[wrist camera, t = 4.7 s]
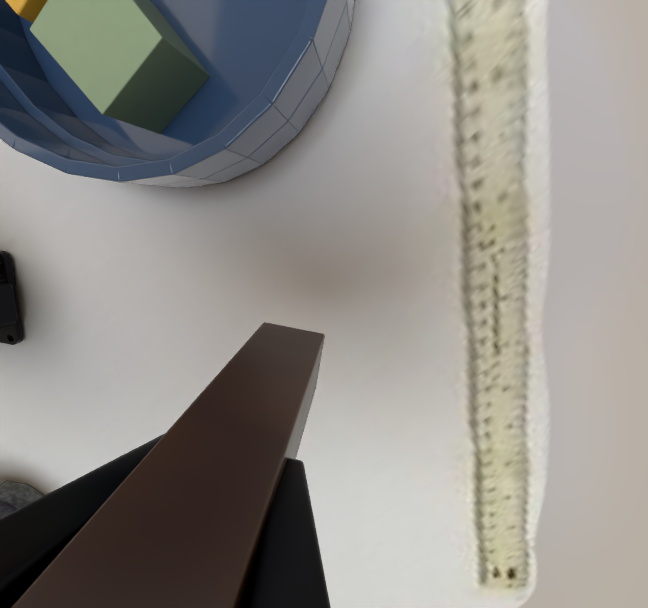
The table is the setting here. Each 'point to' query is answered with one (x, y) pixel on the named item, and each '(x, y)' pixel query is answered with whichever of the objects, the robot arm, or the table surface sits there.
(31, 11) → the mustard block
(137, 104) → the sage block
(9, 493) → the mortar and pestle
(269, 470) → the dark brown bar
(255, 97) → the bowl
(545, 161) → the table surface
